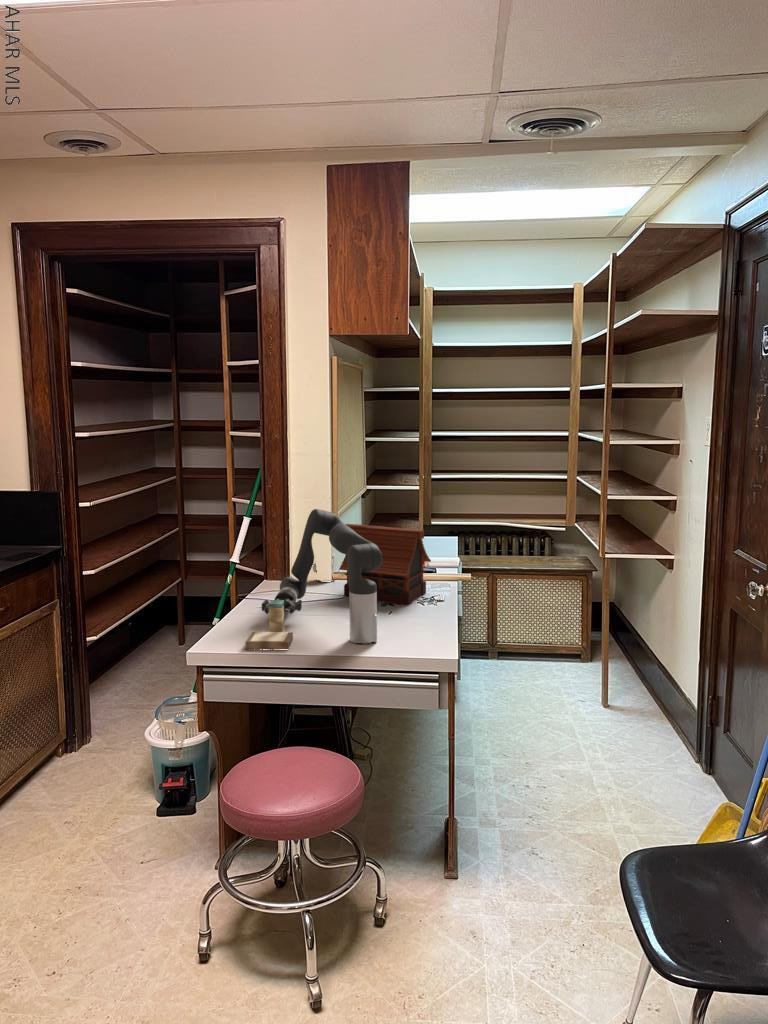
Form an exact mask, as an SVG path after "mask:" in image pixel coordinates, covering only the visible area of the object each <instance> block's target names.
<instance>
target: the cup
mask: <svg viewBox="0 0 768 1024" xmlns="http://www.w3.org/2000/svg"><path fill="white" fill-rule="evenodd" d="M332 559H333V565H332V570H333V572H335V569H336V568H335V567H336V553H334V555H333V556H332ZM316 569H317V566H316V563H314V564H313V566H312V572H313V573H315V572H316V573H315V574H317V570H316Z"/></svg>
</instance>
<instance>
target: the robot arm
mask: <svg viewBox="0 0 768 1024" xmlns="http://www.w3.org/2000/svg"><path fill="white" fill-rule="evenodd" d="M346 524H347V523H344V522H343V521H342V520H341V518H340V517H339V516H338V515H337V514H335V513H334V512H331V511H329V510H328V511H327V510H323V509H318V508H314V509H312V510H311V511H310V514H309V515H308V517H307V520H306V524H305V527H304V531H303V535H302V538H301V542H300V546H299V549H298V553H297V555H296V558H295V560H294V562H293V565H292V567H291V570H290V572H291V575H293V577H291V576H285V577H284V578H282V580H281V581H280V584H279V591H278V593H277V594H276V595H275V598H274V600H284V613H286V612H289V615H293V614H294V613H295V612H296V611H297V612H301V610H302V607H303V606H302V605H303V601H302V598H303V597H304V596H305V594H306V591H307V583H308V576H309V574H310V573H311V570H312V569H313V566H312V565H313V563H314V562H315V552H314V549H313V543H312V542H313V540H312V539H313V537H314V534H318V535H323V536H326V537H327V536H328V540H329V543H330V544H331V546H332V547H333V548H334V549H335V550H336V551H338V552H339V553H341V554H343V555H347V563H348V581H349V598H348V600H349V602H348V603H349V604H348V605H349V641H350V640H351V641H352V642H351V641H350V642H351V643H353V642H355V643H354V644H356V643H370V644H372V643H371V642H378V610H377V608H378V605H377V604H378V603H377V602H378V601H377V585H376V583H375V582H374V581H371V580H368V579H364V578H362V576H361V572H365V571H373V570H376V569H378V568H379V567H380V566H381V564H382V554H381V551H380V549H379V548H378V546H377V545H375V544H374V543H372V542H370V541H368V540H366V539H364V538H363V537H361V536H360V535H358V534H357V533H356V532H355V531H354V530H352V529H351V528H350V527H348V526H347V525H346ZM269 602H270V600H268V599H265V600H264V601H263V602H261V611H262V612H264V613H265V614H266V615H269V608H268V604H269Z"/></svg>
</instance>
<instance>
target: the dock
mask: <svg viewBox="0 0 768 1024" xmlns="http://www.w3.org/2000/svg"><path fill="white" fill-rule="evenodd" d="M293 641H294V632H291V631H284V632H269V631H251V633H250V634H249V635H248V638H247V639H246V640H245V650H246V649H250V650H249V651H264V650H263V649H270V650H269V651H274V650H273V649H289V650H290V648H289V647H291V646H290V645H292V644H291V643H293ZM251 649H252V650H251ZM254 649H255V650H254ZM260 649H262V650H260ZM271 649H272V650H271Z"/></svg>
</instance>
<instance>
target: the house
mask: <svg viewBox="0 0 768 1024" xmlns="http://www.w3.org/2000/svg"><path fill="white" fill-rule="evenodd" d="M345 524H346V525H347V526H348V527H350V528H351V529H352V530H354V531H355V532H356V533H357V534H358V535H360V536H361V537H363V538H364V539H366V540H368V541H370V542H372V543H374V544H375V545H377V546H378V548H379V549H380V551H381V554H382V564H381V566H380V567H379V568H378V569H376V570H373V571H365V572H361V576H362V578H364V579H368V580H371V581H374V582H375V583H376V585H377V602H379V601H381V602H380V603H387V602H388V603H389V604H395V605H405V606H410V605H411V604H412V603H413V602H415V601H416V600H417V599H419V598H421V596H424V595H426V593H427V581H426V580H424V574H425V572H426V570H425V569H424V565H425V562H427V563H431V561H432V560H431V558H429V556H428V554H427V552H426V549H425V546H424V545H425V544H424V542H423V539H425V530H424V529H419V528H418V529H416V528H415V529H414V528H406V527H405V528H403V527H401V528H400V527H391V526H390V527H387V526H381V525H379V526H377V525H367V524H357V523H356V524H353V523H345ZM338 569H339V570H341V571H346V573H344V576H346V583H345V584H344V585H343V596H346V597H345V598H347V597H349V581H348V563H347V555H346V554H344V558H343V561H342V562H341V564H340V567H339V568H338ZM388 603H387V604H388Z"/></svg>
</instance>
